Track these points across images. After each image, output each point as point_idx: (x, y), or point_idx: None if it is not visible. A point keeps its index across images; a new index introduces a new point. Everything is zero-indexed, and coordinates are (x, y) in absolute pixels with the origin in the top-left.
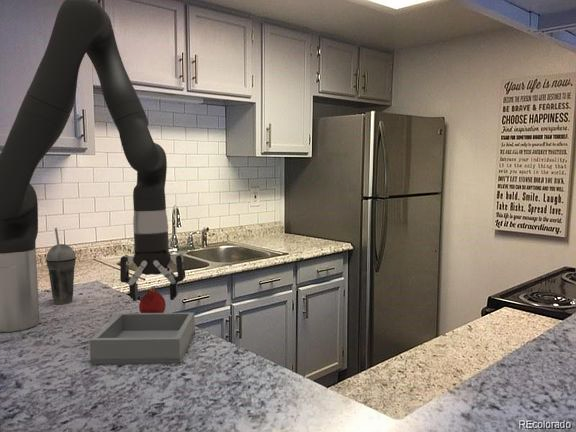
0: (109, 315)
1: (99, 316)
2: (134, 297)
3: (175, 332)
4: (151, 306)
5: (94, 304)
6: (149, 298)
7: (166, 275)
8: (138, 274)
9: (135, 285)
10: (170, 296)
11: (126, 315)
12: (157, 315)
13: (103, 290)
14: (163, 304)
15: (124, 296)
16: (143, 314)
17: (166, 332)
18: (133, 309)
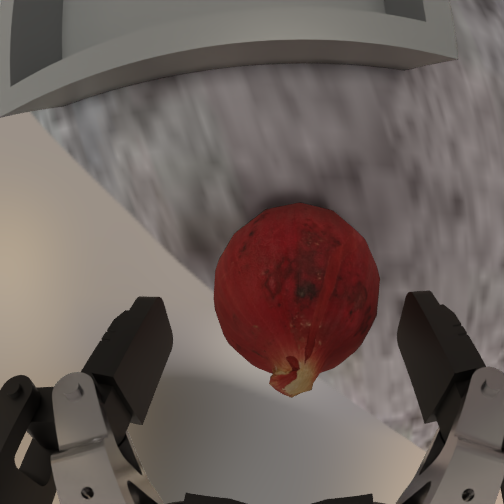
0: (474, 315)
1: (500, 303)
2: (424, 301)
3: (106, 38)
4: (279, 223)
5: None
6: (303, 275)
7: (80, 447)
8: (458, 475)
9: (445, 383)
10: (148, 308)
11: (396, 18)
12: (165, 26)
13: None
14: (215, 280)
15: (419, 443)
16: (268, 9)
17: (144, 27)
18: (399, 375)
